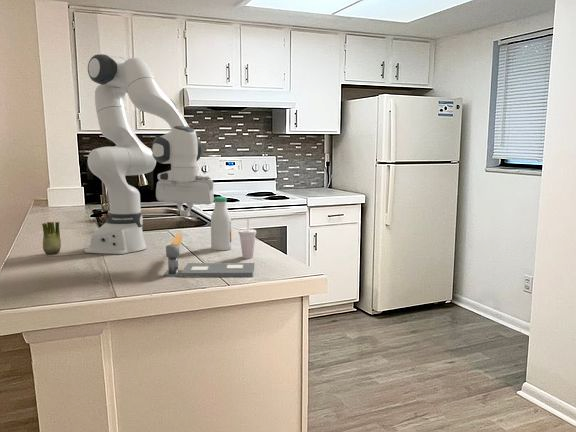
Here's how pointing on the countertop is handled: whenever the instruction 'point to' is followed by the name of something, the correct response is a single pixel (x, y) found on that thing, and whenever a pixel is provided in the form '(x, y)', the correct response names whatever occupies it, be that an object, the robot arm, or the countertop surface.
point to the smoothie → (247, 241)
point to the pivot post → (173, 267)
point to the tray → (218, 269)
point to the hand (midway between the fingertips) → (185, 215)
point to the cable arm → (174, 247)
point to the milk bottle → (220, 225)
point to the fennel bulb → (51, 238)
